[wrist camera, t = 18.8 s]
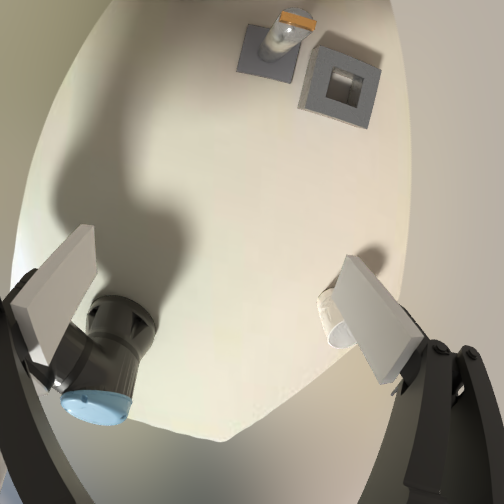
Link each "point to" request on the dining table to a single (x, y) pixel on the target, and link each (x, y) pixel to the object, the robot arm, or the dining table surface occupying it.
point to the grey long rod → (286, 34)
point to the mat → (256, 66)
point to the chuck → (360, 92)
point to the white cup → (334, 322)
